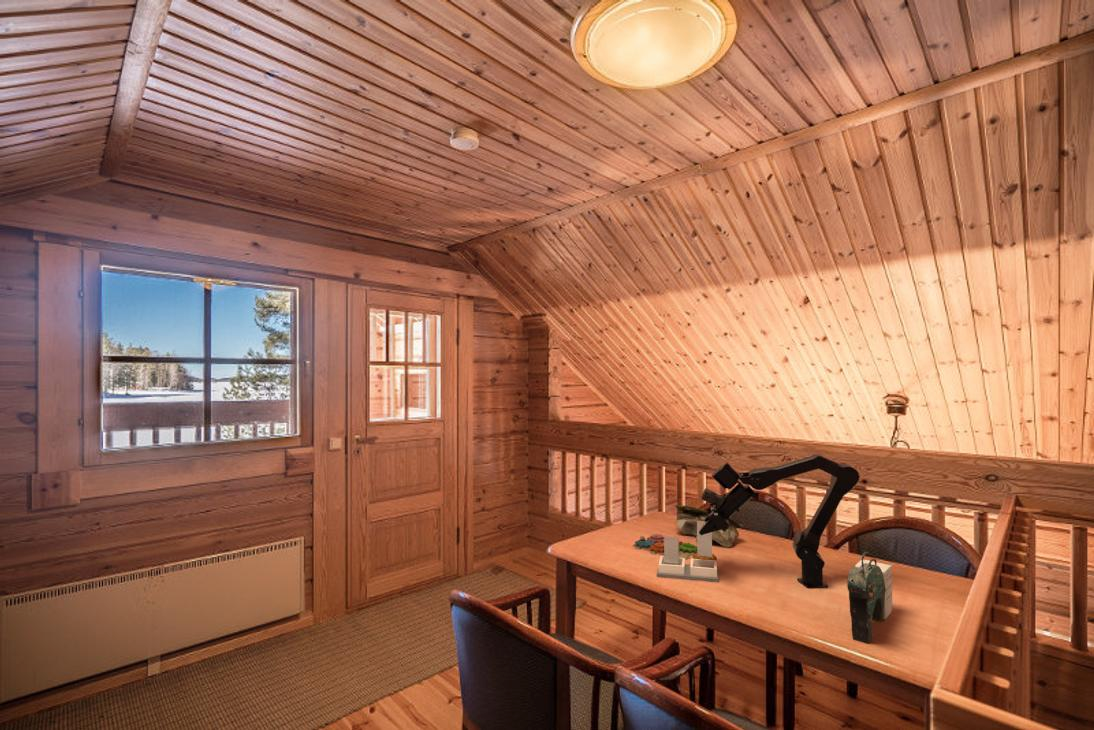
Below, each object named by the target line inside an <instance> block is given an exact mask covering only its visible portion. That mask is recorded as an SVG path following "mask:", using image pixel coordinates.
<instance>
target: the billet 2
mask: <svg viewBox="0 0 1094 730" xmlns="http://www.w3.org/2000/svg"><path fill="white" fill-rule="evenodd" d="M706 522H707V521H697V539H696V541H697V544H696V546H697V554H698V556H707V557H712V554H713V540H712V532H711V533H707V534H704V535H700V534H699V531H700V530H701V529H702V527H703V526H704V525H705V523H706Z"/></svg>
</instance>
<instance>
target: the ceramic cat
mask: <svg viewBox="0 0 1094 730" xmlns="http://www.w3.org/2000/svg"><path fill="white" fill-rule="evenodd" d="M868 555H869V552H868V551H864V552H863V553H862V555H861V560H862V565H861V566H860V567H859V568H855V567H850V569H849V572H848V576H847V581H846V582H847V585H846V586H847V591H848V600H849V601H848V602H849V614H850V619H851V636H852V639H853V640H855V641H857V642H861V643H865V644H869V643H870V642H871V640H872V631H873V620H875V621H879V622H880V621H883V620H884V619H883V617H884V601H885V592H886V589H885V583H884V578H883V574H882V571H881V569H880V567H879V566H877V559H876V558H871V559H870V560H869V561H870V562H869V564H867V563H864V564H863V559H864V560H865V556H868ZM872 561H874V562H875V565H872V564H871V562H872Z"/></svg>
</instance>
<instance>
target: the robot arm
mask: <svg viewBox="0 0 1094 730" xmlns="http://www.w3.org/2000/svg"><path fill="white" fill-rule="evenodd" d="M815 470H821V471H823V472H825V473H827V474H829V475H831V476H830V481H829V485H828V486H829V487H828V489H827V491H826V493H825V494H824V496H823V498H822V500H821V502H820V504H819V505H818V508H817V509H816V511H815V512H814V514H813V516H812V518H811V520H810V521H809V523H808V525H807V527H806V528H805V529H803V530H802V529H800V528H797V531H796V533H795V536H793V537H792V538H791V540H792V548H793V550H794V553H795V555H796V557H797V559H799V560H800V561H801V563H800V564H801V566H800V567H801V577H797V578H796V580H797V582H799V583H800V584H801V585H803V586H804V587H806V588H807V589H813V588H828V587H829V585H828V584H827V583H825V582H824V580H823V579H824V578H823V577H824V576H823V574H824V571H823V569H824V566H825V561H824V559H823V557H822V556H821V554H820V553H819V552H818V551H819V547H820V545H821V544H820V543H821V537H822V535H823V533H824V531H825V529H826V528H827V526H828V524H829V523H830V521H831V519H832V517H833V516H834V513H835V512H836V510H837V508H838V506H839V505H840V503H841V501H842V500H843V498H844V497H845V495H846V494H848V493H849V492H850V491H852V490H853V489H854V487H855V486H856V485H857V484H858V482H859V481H860V478H861V477H860V474H859V473H860V472H859V471H858V470H857V469H856V468H854V467H853V466H852V465H850V464H848V463H845V462H844V463H843V462H842V463H838V462H836V461H835V460H831V459H829V458H826V457H824V456H823V455H821V454H820V453H819V454H818V453H814V454H812V455H811V456H807V457H804V458H800V459H797V460H794V461H790V462H787V463H784V464H781V465H777V466H768V467H759V468H758V467H757V468H752V469H750V471H747V472H744V471H743V472H737V471H736V470H735V469H734V468H733V467H732V466H731V464H730V463H729V462H725V463H724V464H722V465H721V466H719V467H717V468H716V469H715V470H714V471H713V473H712V474H711V478H713V479H714V481H715V482H717V483H718V484H719V485H720V487H722V488H723V489H724V490H726V489H727V490H730V491H729V492H727V493H723V494H722V495H721V494H718V493H717V492H715V491H713V490H711V489H709V488H707V487H705V488H704V490H703V492H702V494H701V495H700V499H701V500H702V501H703V502H707V503H708V505H709V506H708V507H707V511H708V515H707V517H706V518H705V520H704V521H707V522H706V523H705V525H704V526H703V527H702V529H701V530H700V531H699V534H700V535H704V534H707V533H711V532H714V531H718V530H722V531H724V532H725V531H726V530H727V529H728V528H729V522H728V521H729V520H730V517H731V518H732V517H733V515H735V514H736V513H739V512H740V511H741V508H742V507H743V506H744V505H746V504H747V503H748V502H749V501H750V500H751V499H752V498H753V499H754V500H755V501H756V502H759V501H760V499H759V496H760V492H759V491H762V490H764V489H767V488H769V487H771V486H772V485H774V484H776V483H777V482H779V481H781V480H784V479H787V478H792V477H794V476H798V475H801V474H805V473H809V472H812V471H815Z"/></svg>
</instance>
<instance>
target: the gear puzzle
mask: <svg viewBox="0 0 1094 730" xmlns="http://www.w3.org/2000/svg"><path fill="white" fill-rule="evenodd" d="M664 538H665V536H663V534H657V533H656V534H652V535H650V536H648V537H647V538H646V537H645V536H644V535H640V537H639V539H638V540H636V541H635V542H634V543H635V544H632V547H633V548H634V549H636V550H643V551H648V552H649V554H652V555H660V556H664ZM691 556H692V558H693V559H703V560H716V559H717V558H718V557H717V555H715V553H712V557H707V556H698V554H697V545H695V544H692V543H690V542H684V543H683V541H681V540H679V558H685V561H688V560H689V559H690V560H691V558H690V557H691Z"/></svg>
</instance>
